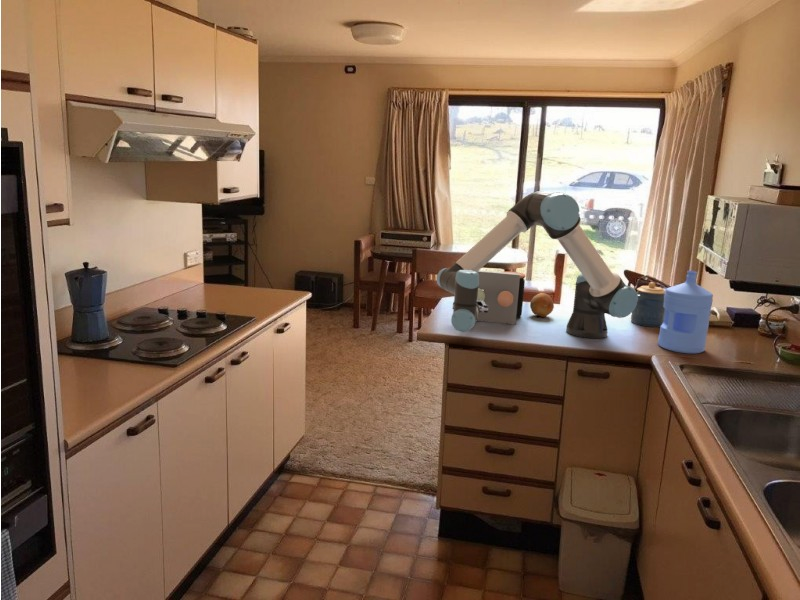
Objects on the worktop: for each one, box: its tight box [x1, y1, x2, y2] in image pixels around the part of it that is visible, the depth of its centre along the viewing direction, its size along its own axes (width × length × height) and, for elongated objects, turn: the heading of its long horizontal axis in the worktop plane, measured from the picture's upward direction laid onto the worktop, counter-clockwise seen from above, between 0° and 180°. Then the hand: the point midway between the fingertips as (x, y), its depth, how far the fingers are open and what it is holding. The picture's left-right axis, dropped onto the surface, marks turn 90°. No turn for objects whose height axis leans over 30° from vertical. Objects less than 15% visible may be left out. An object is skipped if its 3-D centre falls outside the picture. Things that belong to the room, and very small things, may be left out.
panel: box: [476, 269, 520, 325], centre depth 245 cm, size 3×20×20 cm, turn 77°
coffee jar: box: [504, 271, 526, 319], centre depth 256 cm, size 11×11×18 cm
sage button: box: [477, 288, 485, 301], centre depth 243 cm, size 8×6×6 cm
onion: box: [529, 292, 555, 318], centre depth 258 cm, size 10×10×10 cm
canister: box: [630, 281, 666, 328], centre depth 254 cm, size 13×13×18 cm
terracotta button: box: [498, 291, 513, 307], centre depth 240 cm, size 8×6×6 cm
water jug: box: [657, 270, 714, 354], centre depth 219 cm, size 16×16×28 cm
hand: (475, 298), depth 233 cm, fingers closed
